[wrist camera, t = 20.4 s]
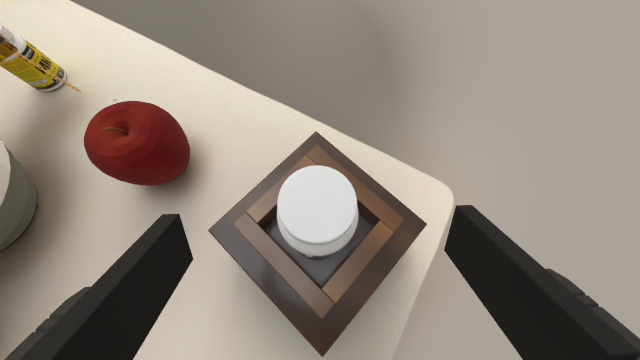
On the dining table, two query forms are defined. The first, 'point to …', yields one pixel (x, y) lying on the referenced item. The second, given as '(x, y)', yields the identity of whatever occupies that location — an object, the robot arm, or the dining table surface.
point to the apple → (137, 143)
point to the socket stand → (318, 274)
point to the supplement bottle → (28, 70)
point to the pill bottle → (317, 211)
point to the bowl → (14, 198)
